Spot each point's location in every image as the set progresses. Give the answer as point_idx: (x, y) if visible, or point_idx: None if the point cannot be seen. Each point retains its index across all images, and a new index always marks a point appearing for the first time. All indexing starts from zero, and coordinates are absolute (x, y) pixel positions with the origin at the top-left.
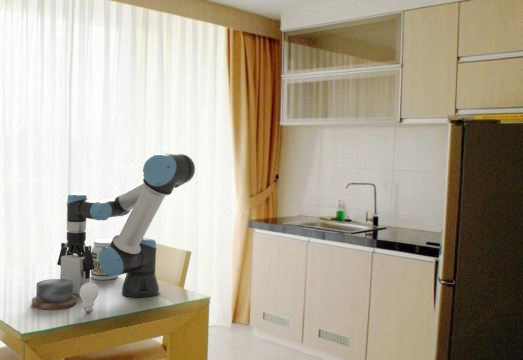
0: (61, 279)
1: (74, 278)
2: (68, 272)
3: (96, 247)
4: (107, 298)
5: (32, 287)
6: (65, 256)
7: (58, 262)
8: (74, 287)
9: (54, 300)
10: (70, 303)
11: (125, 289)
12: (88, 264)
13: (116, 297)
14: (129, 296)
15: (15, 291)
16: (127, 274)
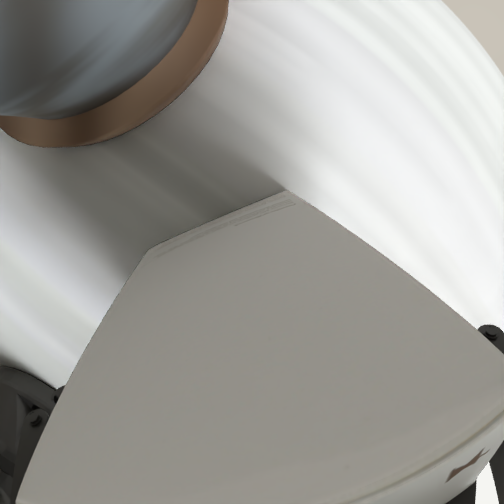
0: (60, 45)
1: (152, 282)
2: (225, 281)
3: None
4: (11, 302)
5: (474, 171)
6: (439, 485)
7: (499, 342)
8: (167, 248)
9: None
10: None
11: (9, 388)
12: (28, 456)
13: (12, 336)
14: (2, 366)
15: (468, 69)
16: (4, 452)
